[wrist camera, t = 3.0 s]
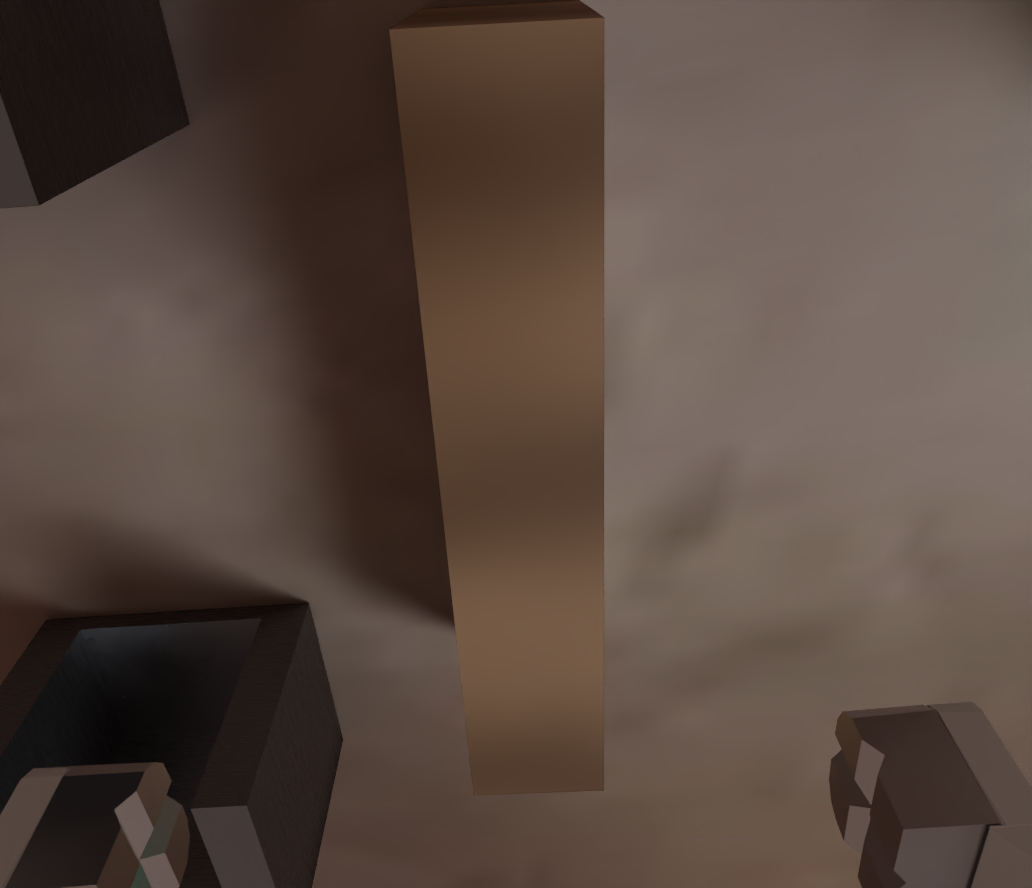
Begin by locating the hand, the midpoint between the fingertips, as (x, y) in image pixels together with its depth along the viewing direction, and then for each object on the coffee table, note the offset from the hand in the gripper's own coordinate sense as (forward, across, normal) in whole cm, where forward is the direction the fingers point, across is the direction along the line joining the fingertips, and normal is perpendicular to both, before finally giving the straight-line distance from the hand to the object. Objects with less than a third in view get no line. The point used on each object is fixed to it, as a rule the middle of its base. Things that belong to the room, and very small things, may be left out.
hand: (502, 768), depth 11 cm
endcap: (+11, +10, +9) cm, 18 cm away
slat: (+12, 0, 0) cm, 12 cm away
